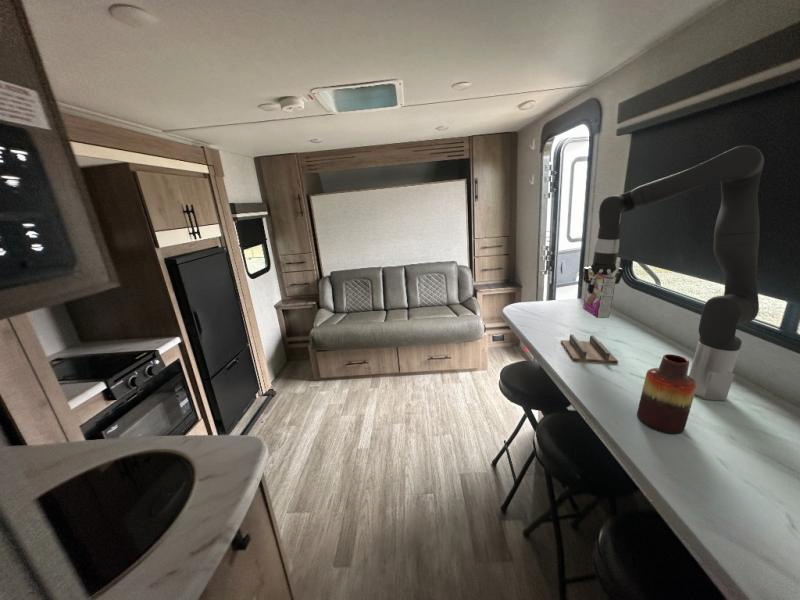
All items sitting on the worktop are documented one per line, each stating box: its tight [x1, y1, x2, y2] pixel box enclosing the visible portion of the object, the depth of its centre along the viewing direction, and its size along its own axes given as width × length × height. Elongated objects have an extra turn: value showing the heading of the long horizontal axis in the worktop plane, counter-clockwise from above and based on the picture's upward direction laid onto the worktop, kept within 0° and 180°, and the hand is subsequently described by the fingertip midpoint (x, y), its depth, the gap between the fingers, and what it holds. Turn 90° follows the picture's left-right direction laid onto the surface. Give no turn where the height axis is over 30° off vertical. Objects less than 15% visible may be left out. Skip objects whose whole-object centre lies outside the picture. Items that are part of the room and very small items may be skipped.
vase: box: [636, 353, 697, 435], centre depth 89 cm, size 11×11×20 cm
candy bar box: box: [582, 270, 616, 319], centre depth 126 cm, size 11×5×16 cm, turn 178°
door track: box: [560, 333, 619, 365], centre depth 132 cm, size 16×17×4 cm
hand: (598, 293), depth 126 cm, fingers closed on candy bar box, 5 cm apart
